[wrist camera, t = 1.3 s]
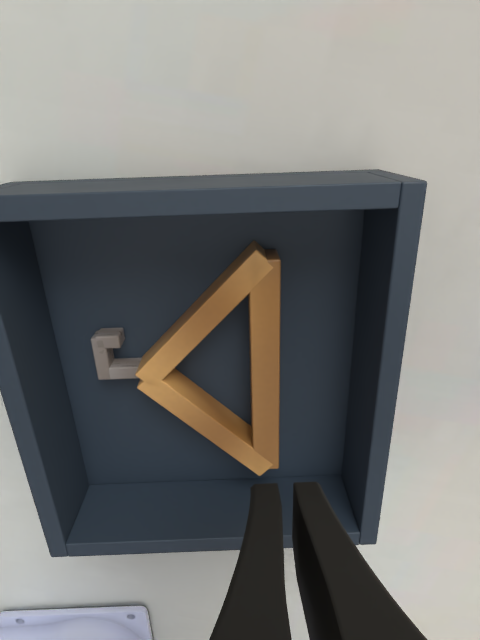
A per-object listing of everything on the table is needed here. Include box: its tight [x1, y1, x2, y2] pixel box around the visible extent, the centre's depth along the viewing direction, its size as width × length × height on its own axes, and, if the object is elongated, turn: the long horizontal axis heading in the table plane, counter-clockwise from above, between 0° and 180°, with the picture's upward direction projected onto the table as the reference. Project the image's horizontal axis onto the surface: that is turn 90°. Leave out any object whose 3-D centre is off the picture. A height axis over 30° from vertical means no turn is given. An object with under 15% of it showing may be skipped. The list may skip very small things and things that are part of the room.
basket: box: [0, 170, 427, 557], centre depth 18 cm, size 15×16×4 cm
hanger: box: [91, 241, 281, 476], centre depth 18 cm, size 8×11×2 cm
